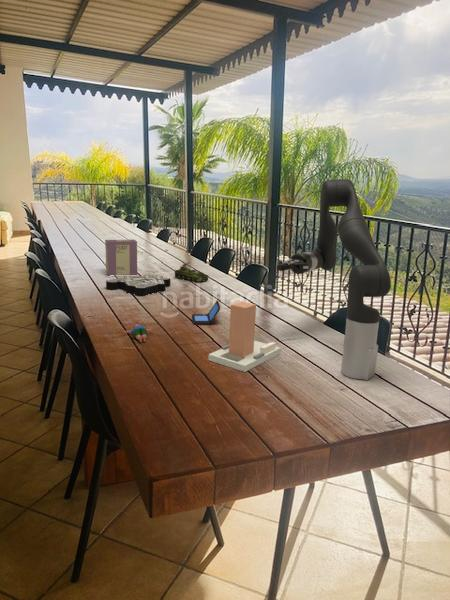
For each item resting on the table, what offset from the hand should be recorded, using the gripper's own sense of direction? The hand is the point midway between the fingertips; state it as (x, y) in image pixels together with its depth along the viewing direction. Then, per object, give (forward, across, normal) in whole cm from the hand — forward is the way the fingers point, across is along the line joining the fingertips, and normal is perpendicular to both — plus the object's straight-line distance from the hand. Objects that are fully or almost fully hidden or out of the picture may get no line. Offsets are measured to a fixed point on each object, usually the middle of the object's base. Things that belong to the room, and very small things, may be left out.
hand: (279, 267), depth 158 cm
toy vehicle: (-61, -93, +26) cm, 114 cm away
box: (-42, -130, +25) cm, 139 cm away
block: (+20, 0, +25) cm, 33 cm away
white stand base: (+18, 0, +27) cm, 33 cm away
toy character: (+27, -40, +28) cm, 56 cm away
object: (-4, -35, +27) cm, 45 cm away
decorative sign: (-27, -96, +26) cm, 103 cm away
